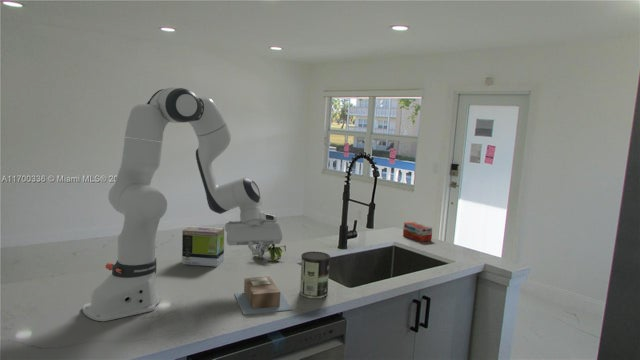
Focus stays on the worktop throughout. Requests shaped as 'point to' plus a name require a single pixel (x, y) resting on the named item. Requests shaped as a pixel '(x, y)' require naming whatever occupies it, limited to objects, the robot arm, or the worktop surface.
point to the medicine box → (417, 231)
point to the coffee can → (314, 274)
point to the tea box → (203, 245)
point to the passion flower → (271, 250)
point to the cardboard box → (261, 292)
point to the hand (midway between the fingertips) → (256, 254)
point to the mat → (248, 309)
